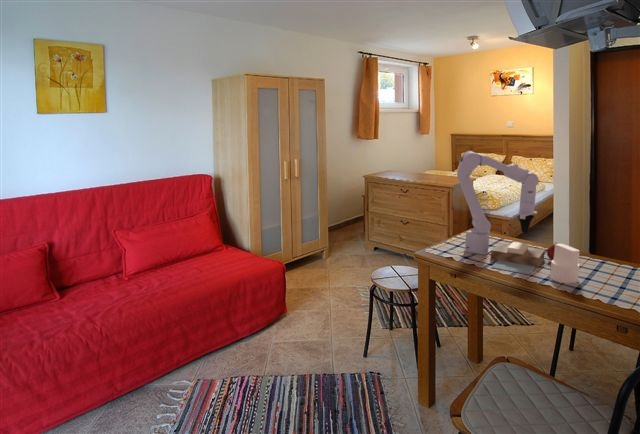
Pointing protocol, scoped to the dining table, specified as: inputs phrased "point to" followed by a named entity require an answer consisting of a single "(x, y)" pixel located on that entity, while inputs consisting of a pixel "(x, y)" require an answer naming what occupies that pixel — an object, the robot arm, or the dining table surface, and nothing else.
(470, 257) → the dining table surface
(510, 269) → the mat
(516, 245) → the tan tilted rectangular prism
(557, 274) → the base with upright slab
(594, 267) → the dining table surface
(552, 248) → the onion
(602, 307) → the dining table surface
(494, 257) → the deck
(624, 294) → the dining table surface
